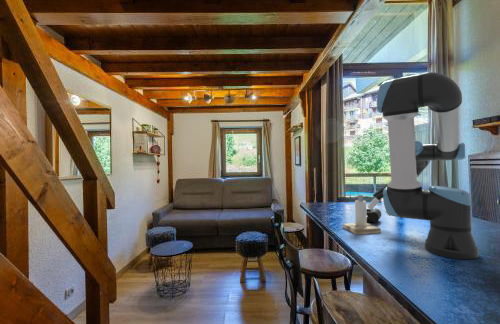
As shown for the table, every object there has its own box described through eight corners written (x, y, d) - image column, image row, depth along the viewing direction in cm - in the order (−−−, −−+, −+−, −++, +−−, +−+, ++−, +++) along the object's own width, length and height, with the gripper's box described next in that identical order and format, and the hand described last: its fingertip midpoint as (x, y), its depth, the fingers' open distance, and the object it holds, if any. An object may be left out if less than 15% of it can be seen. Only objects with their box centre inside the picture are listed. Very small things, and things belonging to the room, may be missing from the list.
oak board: (380, 232, 114) (380, 228, 114) (356, 234, 113) (356, 230, 113) (365, 226, 126) (365, 222, 126) (343, 227, 125) (343, 223, 125)
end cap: (379, 225, 128) (378, 212, 128) (364, 223, 132) (363, 210, 132) (381, 220, 136) (381, 208, 136) (367, 219, 140) (367, 207, 140)
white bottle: (369, 226, 117) (368, 195, 117) (359, 227, 117) (358, 195, 117) (362, 224, 122) (362, 194, 122) (353, 224, 122) (352, 194, 122)
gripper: (431, 186, 111) (402, 222, 109) (391, 182, 135) (367, 211, 133) (420, 175, 110) (390, 211, 108) (382, 172, 135) (358, 201, 133)
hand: (377, 211), depth 121 cm, fingers open, 13 cm apart
